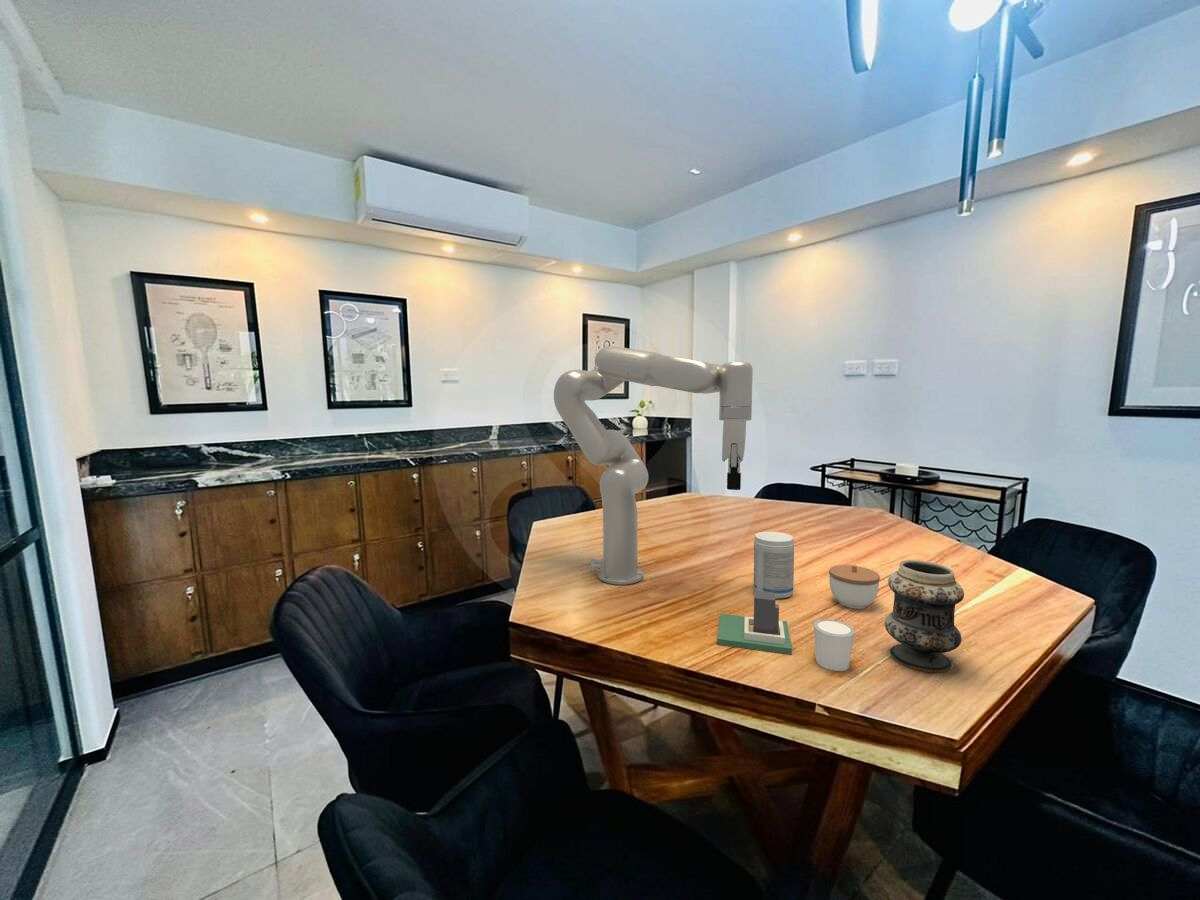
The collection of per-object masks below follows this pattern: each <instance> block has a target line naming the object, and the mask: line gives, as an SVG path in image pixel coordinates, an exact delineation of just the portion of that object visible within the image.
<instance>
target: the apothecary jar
mask: <svg viewBox="0 0 1200 900" xmlns="http://www.w3.org/2000/svg"><path fill="white" fill-rule="evenodd" d="M898 567H899V568H898V570H896V571H894V572H893V573H892V574H890V576H888V579H887V584H888V585H887V586H888V587H889V589H890V590H891V591H892V592H893V594H894V595H893V607H892V612H890V613H888V614H887V615H886V616H885V618H884V622H883V623H884V628H885V630H886V632H887V633H888V635H890V636H891V637H892V638H893V639H894V641H897V642H898V643H900V644H896V645H894V646H892V647H891V648H890V650H889V655H890V656H891V657H892V658H893V659H894V661H896V662H898V663H899V664H901V665H903V666H906V667H908V668H910V669H913V670H917V671H921V672H926V673H934V674H940V673H947V672H949V671H951V669H953V663H952V661H951V660H950V659H949V658H948V656H946V655H945V653H950V652H952V651H955V649H958V648H959V647H960V645H961V643H962V635H961V632H960V631H959V629H958V628H957V626H955V612H956V610H955V609H956V605H957V604H959V603H961V602H962V601H963V599H964V598H965V592H964V588H963V587H962V586H961V585H960V584H959V582H957V581H956V577H955V572H954V570H953V569H952V568H950V567H948V566H946V565H942V564H939V563H937V562H936V563H935V562H930V561H927V560H920V559H905V560H902V561H900V563H899V566H898Z"/></svg>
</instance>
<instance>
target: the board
mask: <svg viewBox="0 0 1200 900" xmlns="http://www.w3.org/2000/svg"><path fill="white" fill-rule="evenodd" d="M753 625H754V616H744V615H738V614H737V615H735V614H726V613H720V614H719V623H718V631H717V638H716V639H717V641H716V645H717V646H727V647H732V648H740V649H747V650H754V651H761V652H762V651H763V652H771V653H778V654H785V655H793V654H792V653H793V647H792V642H791V636H790V629H789V624H788V621H786V620H780V619H779V628H778V635H772V634H764V633H756V632H753Z"/></svg>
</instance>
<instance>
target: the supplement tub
mask: <svg viewBox="0 0 1200 900" xmlns="http://www.w3.org/2000/svg"><path fill="white" fill-rule="evenodd" d="M794 540H795V539H794V536H792V535H791V534H788V533H786V532H780V531H779V532H778V531H760V532H756V533H755V534H754V540H753V589H754V590H755V591H764V592H773V593H775V600H776V599H778V600H779V599H786V598H789V597H791V596H792V595H793V593H794V580H795V579H794V573H795V571H794V570H795V569H794V568H795V544H794V542H795V541H794Z"/></svg>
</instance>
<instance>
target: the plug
mask: <svg viewBox="0 0 1200 900" xmlns="http://www.w3.org/2000/svg"><path fill="white" fill-rule="evenodd" d="M753 593H754V594H753V595H754V598H753V617H754V625H753V632H756V633H764V634H772V635H778V628H779V620H780V619H779V618H780V605H779V604H778V603H776V599H775V593H773V592H764V591H755V590H754V592H753Z"/></svg>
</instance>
